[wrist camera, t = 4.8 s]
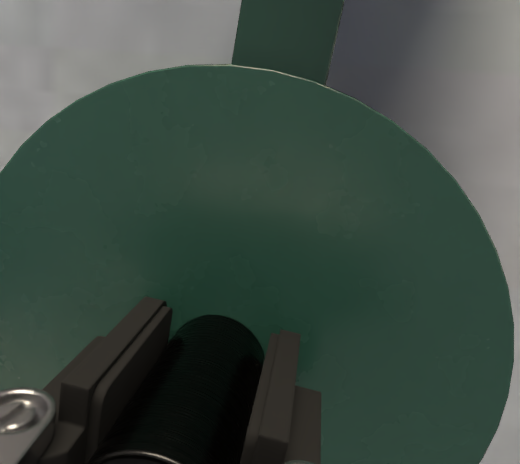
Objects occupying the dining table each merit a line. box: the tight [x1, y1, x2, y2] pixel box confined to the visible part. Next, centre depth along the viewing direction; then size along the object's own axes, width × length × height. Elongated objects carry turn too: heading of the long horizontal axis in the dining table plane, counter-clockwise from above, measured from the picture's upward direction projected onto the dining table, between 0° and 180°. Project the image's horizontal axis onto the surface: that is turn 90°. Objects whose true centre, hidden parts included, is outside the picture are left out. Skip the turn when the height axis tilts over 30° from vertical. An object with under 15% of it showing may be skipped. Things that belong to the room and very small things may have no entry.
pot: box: [231, 0, 345, 86], centre depth 17 cm, size 14×19×10 cm
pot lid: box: [0, 64, 514, 464], centre depth 10 cm, size 15×15×6 cm
